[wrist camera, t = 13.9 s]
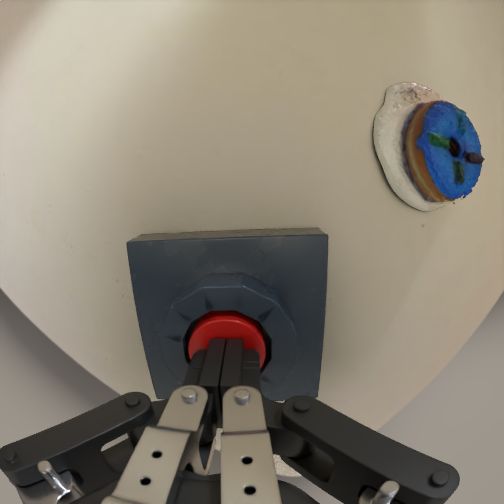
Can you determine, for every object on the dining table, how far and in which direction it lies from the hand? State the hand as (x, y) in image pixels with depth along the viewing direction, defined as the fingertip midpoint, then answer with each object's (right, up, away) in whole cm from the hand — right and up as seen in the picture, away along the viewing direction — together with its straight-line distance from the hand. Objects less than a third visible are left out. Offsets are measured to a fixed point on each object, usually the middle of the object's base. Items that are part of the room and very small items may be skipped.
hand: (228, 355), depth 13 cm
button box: (0, +1, +4) cm, 4 cm away
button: (0, 0, +2) cm, 2 cm away
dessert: (+12, +11, +2) cm, 16 cm away
